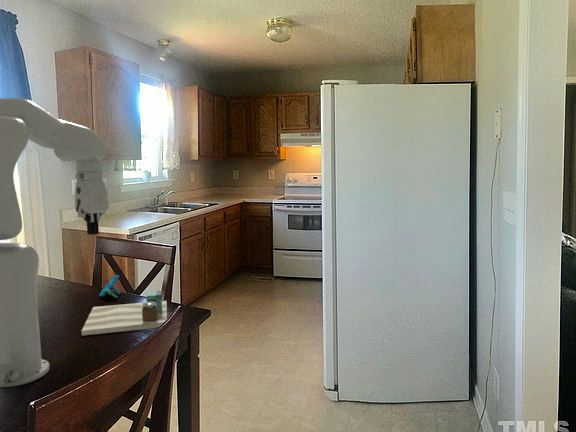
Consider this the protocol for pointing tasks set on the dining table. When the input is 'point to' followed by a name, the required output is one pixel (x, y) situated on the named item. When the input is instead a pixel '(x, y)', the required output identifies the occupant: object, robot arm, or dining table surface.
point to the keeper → (158, 297)
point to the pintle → (149, 304)
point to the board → (121, 319)
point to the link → (149, 312)
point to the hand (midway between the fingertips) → (93, 233)
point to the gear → (110, 287)
